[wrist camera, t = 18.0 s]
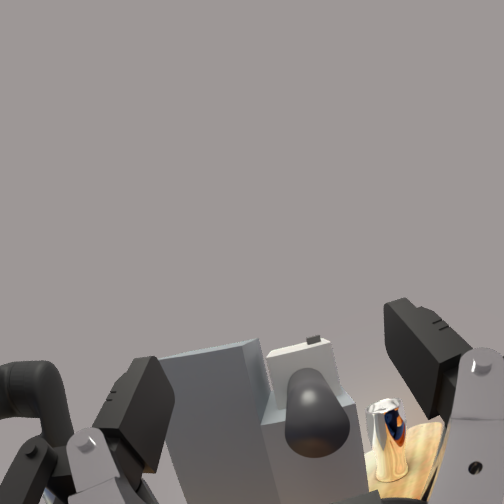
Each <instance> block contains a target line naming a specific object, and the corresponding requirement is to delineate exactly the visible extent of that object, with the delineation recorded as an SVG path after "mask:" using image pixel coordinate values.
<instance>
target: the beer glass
mask: <svg viewBox="0 0 504 504" xmlns="http://www.w3.org/2000/svg"><path fill="white" fill-rule="evenodd" d="M365 413H366V424H367V432H368V438H369V441H370V444H371V447H372V450H373V452H374V455H375V458H376V462H377V470H376V478H377V480H379V481H381V482H392V481H396V480H398V479H400V478H402V477H404V476H405V475H406V474H407V472H408V465H407V462H406V459H405V446H406V436H407V424H406V416H405V411H404V407H403V403H402V400H401V399H399V398H389V399H384V400H381V401H377V402H375V403H373V404H371V405H369V406H368V407H367V408H366V409H365Z"/></svg>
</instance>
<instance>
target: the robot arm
mask: <svg viewBox="0 0 504 504" xmlns="http://www.w3.org/2000/svg"><path fill="white" fill-rule="evenodd" d="M384 332H385V346H386V350H387V353H388V356H389V357H390V359H391V361H392V362H393V364H394V365H395V367H396V368H397V370H398V372H399V373H400V375H401V376H402V378H403V379H404V381H405V383H406V384H407V386H408V387H409V389H410V390H411V392H412V394H413V395H414V397H415V399H416V400H417V402H418V404H419V405H420V407H421V408H422V410H423V412H424V413H425V415H426V417H427V418H428V420H430V419H432V418H434V417H436V416H439V415H440V416H441V418H442V419H443V421H444V422H445V423H444V426H443V430H442V434H441V438H440V442H439V446H438V449H437V453H436V456H435V459H434V463H433V466H432V469H431V472H430V475H429V477H428V480H427V482H426V485H425V487H424V490H423V492H422V495H421V497H420V500H418V499H411V498H383V499H380V495H379V492H378V490H375V491H372V492H369V493H365V494H362V495H359V496H355V497H352V498H348V499H344V500H341V501H337V502H333V503H331V504H502V500H503V496H504V356H503V357H502V356H501V355H500V353H498V352H497V351H495V350H493V349H490V348H475V349H473V348H472V347H471V346H470V345H469V344H468V343H467V342H466V341H465V340H464V339H462V337H460V336H459V335H458V334H457V333H456V332H455V331H454V330H453V329H452V328H451V327H449V325H448V324H447V323H446V322H445V321H442V319H441V318H440V317H439V316H438V315H437V314H436V313H435V312H434V311H432V310H429V309H426V308H424V307H422V306H421V307H419V308H416V307H415V306H414V305H413V304H412V303H411V302H410V301H409V300H408V299H407V298H401V299H398V300H395V301H392V302H389V303H386V304H385V305H384ZM110 392H111V393H110V394H109V395H108V397H107V399H106V401H105V403H104V404H103V406H102V408H101V410H100V412H99V414H98V416H97V418H96V420H95V421H94V423H93V425H92V427H90V428H84V429H82V430H80V431H78V432H76V433H75V434H74V430H73V426H72V423H71V419H70V415H69V410H68V405H67V399H66V394H65V389H64V385H63V381H62V379H61V376H60V374H59V371H58V370H57V368H56V367H55V366H54V364H52V363H51V362H49V361H23V362H22V361H21V362H11V363H8V364H4V365H1V366H0V420H1V419H5V418H10V417H27V418H40V421H41V427H42V433H41V434H40V435H38V436H35V437H33V438H31V439H29V440H28V441H26V442H25V443H24V444H23V445H22V446H21V448H20V450H19V451H18V453H17V455H16V457H15V458H14V461H13V462H12V464H11V466H10V468H9V469H8V472H7V473H6V475H5V477H4V479H3V481H2V483H1V485H0V504H39V502H40V499H41V496H42V494H43V493H44V494H43V498H44V500H45V502H46V504H159V503H158V502H157V500H156V498H155V496H154V495H153V494H152V491H151V490H150V488H149V486H148V485H147V483H146V482H145V480H143V478H142V473H156V471H157V468H158V464H159V459H160V456H161V452H162V448H163V444H164V441H165V437H166V433H167V430H168V426H169V422H170V419H171V415H172V412H173V408H174V404H175V395H174V391H173V388H172V386H171V384H170V382H169V380H168V378H167V376H166V374H165V372H164V370H163V368H162V366H161V364H160V362H159V360H158V359H157V358H156V357H155V356H149V357H142V358H135V359H134V360H133V361H132V363H131V365H130V367H129V369H128V371H127V373H124V374H123V375H122V376H121V377H120V378H119V379H118V380H117V381H116V382H115V384H114V386H113V387H112V389H111V391H110Z"/></svg>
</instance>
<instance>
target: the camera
mask: <svg viewBox="0 0 504 504" xmlns="http://www.w3.org/2000/svg"><path fill="white" fill-rule="evenodd" d="M266 360H267V364H268V369H269V373H270V378H271V382H272V386H273V391H274V395H275V399H276V404H277V408H278V410H280V409H285V408H286V419H285V439H286V442H287V444H288V445H289V447H290V448H291V449H292V450H293V451H294V452H295V453H297V454H299V455H301V456H304V457H308V458H321V457H325V456H328V455H330V454H332V453H334V452H336V451H337V450H338V449H340V448H341V447H342V446H343V444H344V443H345V442H346V440H347V438H348V436H349V432H350V421H349V418H348V416H347V414H346V412H345V411H344V409H343V408H342V406H341V404H340V403H339V401H338V400H337V398H336V396H339V395H342V391H341V386H340V381H339V376H338V372H337V367H336V362H335V357H334V353H333V348H332V344H331V342H330V341H328V340H325V339H323V338H321V339H320V335H315V336H312V337H308V338H306V342H305V343H301V344H297V345H293V346H289V347H284V348H280V349H276V350H272V351H271V352H270V353H269V354H268V356H267V357H266Z"/></svg>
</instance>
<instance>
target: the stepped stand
mask: <svg viewBox="0 0 504 504" xmlns="http://www.w3.org/2000/svg"><path fill="white" fill-rule="evenodd" d="M158 360H159V362H160V364H161V366H162V368H163V370H164V372H165V374H166V376H167V378H168V380H169V382H170V384H171V386H172V388H173V391H174V395H175V404H174V408H173V412H172V415H171V419H170V422H169V426H168V430H167V433H166V437H165V441H166V444H167V447H168V450H169V453H170V456H171V459H172V463H173V466H174V469H175V471H176V474H177V477H178V480H179V483H180V485H181V488H182V491H183V493H184V496H185V498H186V501H187V504H331V503H333V502H337V501H341V500H344V499H348V498H352V497H355V496H359V495H362V494H365V493H369V488H368V480H367V472H366V465H365V458H364V452H363V445H362V438H361V432H360V426H359V420H358V415H357V410H356V404H355V402H354V401H353V400H352V398H350V396H349V395H348V394H347V393H346V391H345V390H344V389H343V388H342V387H341V391H342V395H339V396H336V398H337V400H338V401H339V403H340V404H341V406H342V408H343V409H344V411H345V412H346V414H347V416H348V418H349V421H350V432H349V436H348V438H347V440H346V442H345V443H344V444H343V446H342V447H341V448H340V449H338V450H337V451H336V452H334V453H332V454H330V455H328V456H325V457H321V458H308V457H304V456H301V455H299V454H297V453H295V452H294V451H293V450H292V449H291V448H290V447H289V445H288V444H287V442H286V439H285V419H286V408H285V409H280V410H278V408H277V404H276V399H275V395H274V391H271V390H270V386H269V382H268V377H267V373H266V369H265V364H264V360H263V355H262V351H261V347H260V342H259V339H258V338H257V339H252V340H247V341H242V342H237V343H233V344H228V345H222V346H217V347H211V348H206V349H201V350H194V351H190V352H185V353H181V354H177V355H173V356H168V357H164V358H159V359H158ZM340 386H341V385H340Z"/></svg>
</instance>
